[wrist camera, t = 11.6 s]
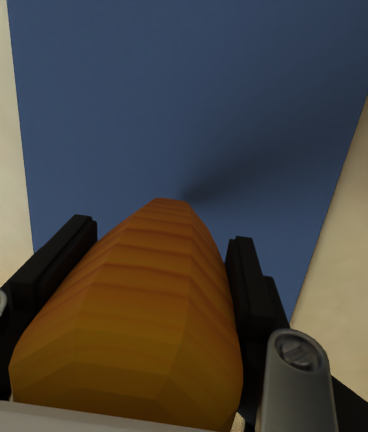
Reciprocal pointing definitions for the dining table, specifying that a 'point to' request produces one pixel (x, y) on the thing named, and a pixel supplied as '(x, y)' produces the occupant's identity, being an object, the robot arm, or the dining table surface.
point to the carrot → (139, 328)
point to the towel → (191, 115)
